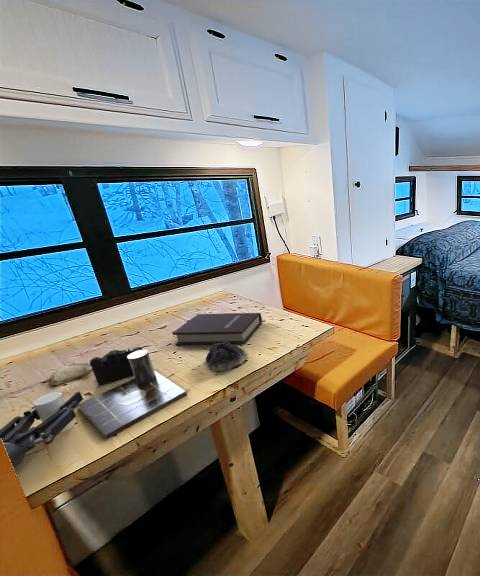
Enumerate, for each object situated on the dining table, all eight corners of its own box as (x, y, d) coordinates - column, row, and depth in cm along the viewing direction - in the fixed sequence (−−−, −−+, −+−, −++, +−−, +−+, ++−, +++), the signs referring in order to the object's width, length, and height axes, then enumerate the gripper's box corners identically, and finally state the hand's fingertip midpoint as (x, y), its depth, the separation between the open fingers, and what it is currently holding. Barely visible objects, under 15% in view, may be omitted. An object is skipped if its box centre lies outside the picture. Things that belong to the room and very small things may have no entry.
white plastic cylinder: (45, 430, 83) (30, 400, 79) (71, 418, 87) (57, 389, 83) (51, 438, 80) (35, 408, 76) (77, 425, 84) (63, 395, 81)
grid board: (78, 408, 90) (76, 404, 90) (154, 373, 106) (153, 369, 106) (107, 439, 79) (105, 434, 79) (187, 395, 95) (186, 390, 94)
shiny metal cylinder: (133, 382, 99) (124, 355, 96) (152, 373, 103) (143, 348, 100) (140, 387, 96) (131, 360, 93) (159, 378, 101) (150, 352, 97)
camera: (150, 358, 115) (142, 335, 112) (149, 372, 107) (140, 347, 103) (102, 371, 108) (92, 347, 104) (97, 387, 99) (85, 361, 96)
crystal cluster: (223, 352, 119) (215, 331, 115) (254, 352, 117) (247, 330, 113) (200, 375, 107) (189, 352, 103) (234, 375, 105) (224, 352, 101)
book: (262, 322, 142) (260, 311, 139) (244, 344, 123) (241, 331, 121) (203, 324, 142) (200, 312, 140) (176, 345, 124) (172, 332, 122)
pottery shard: (52, 391, 100) (88, 375, 104) (43, 381, 99) (80, 365, 102) (66, 375, 109) (98, 361, 113) (57, 366, 108) (91, 352, 111)
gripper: (-58, 491, 64) (34, 413, 85) (46, 473, 68) (109, 402, 89) (-77, 465, 62) (22, 391, 83) (31, 447, 65) (100, 381, 87)
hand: (67, 397), depth 86 cm, fingers closed on white plastic cylinder, 5 cm apart
